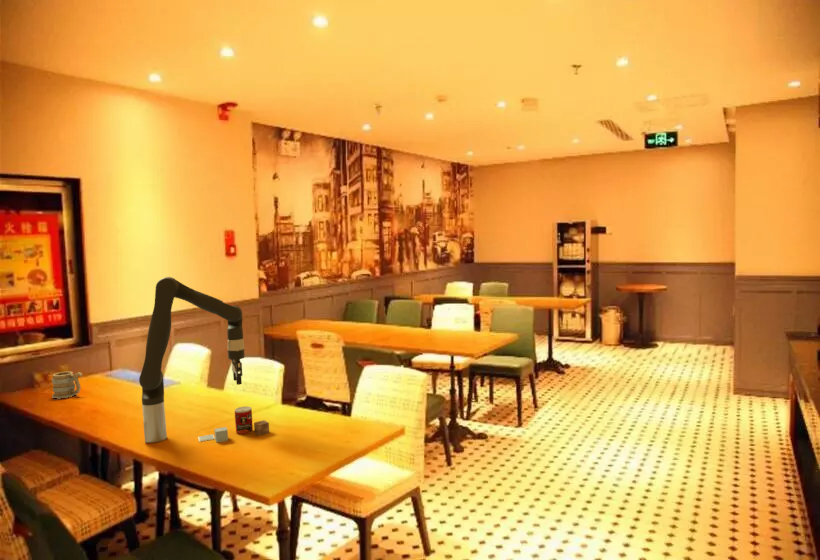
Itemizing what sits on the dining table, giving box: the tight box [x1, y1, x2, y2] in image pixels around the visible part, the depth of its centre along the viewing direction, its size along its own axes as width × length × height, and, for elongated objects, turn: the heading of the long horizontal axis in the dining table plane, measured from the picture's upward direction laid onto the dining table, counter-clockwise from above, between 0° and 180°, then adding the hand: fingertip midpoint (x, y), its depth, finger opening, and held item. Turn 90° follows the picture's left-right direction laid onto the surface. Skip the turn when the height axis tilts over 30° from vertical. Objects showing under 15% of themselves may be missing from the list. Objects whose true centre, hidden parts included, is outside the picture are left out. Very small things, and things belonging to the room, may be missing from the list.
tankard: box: [51, 371, 83, 400], centre depth 352 cm, size 20×13×15 cm, turn 73°
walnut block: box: [253, 420, 270, 436], centre depth 272 cm, size 5×5×5 cm
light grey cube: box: [214, 426, 229, 443], centre depth 265 cm, size 5×5×5 cm
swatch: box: [197, 434, 215, 443], centre depth 268 cm, size 7×7×1 cm
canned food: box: [234, 406, 254, 435], centre depth 274 cm, size 8×8×11 cm
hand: (237, 382), depth 276 cm, fingers open, 8 cm apart
